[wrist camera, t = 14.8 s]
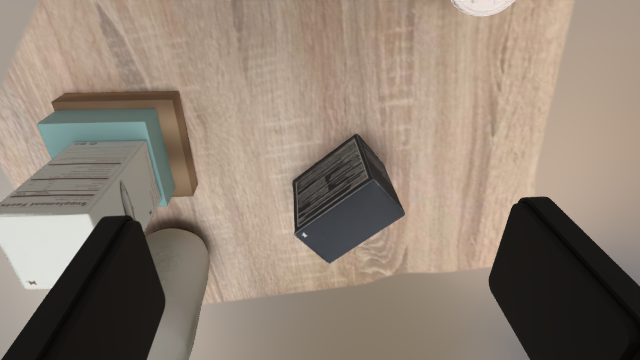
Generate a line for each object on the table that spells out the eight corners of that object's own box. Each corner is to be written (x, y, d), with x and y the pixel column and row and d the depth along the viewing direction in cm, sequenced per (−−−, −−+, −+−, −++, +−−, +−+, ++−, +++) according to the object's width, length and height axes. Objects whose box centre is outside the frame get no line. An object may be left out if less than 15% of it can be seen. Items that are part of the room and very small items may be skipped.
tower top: (56, 110, 38) (36, 124, 35) (156, 108, 39) (144, 121, 36) (88, 191, 44) (73, 209, 41) (175, 188, 44) (167, 206, 41)
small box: (322, 211, 51) (329, 268, 42) (290, 181, 48) (290, 234, 39) (387, 166, 48) (408, 217, 39) (356, 131, 45) (372, 177, 36)
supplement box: (164, 199, 41) (117, 289, 30) (93, 201, 40) (20, 292, 29) (149, 137, 37) (89, 214, 26) (70, 138, 36) (-23, 217, 26)
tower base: (68, 90, 41) (51, 102, 38) (180, 88, 41) (172, 99, 38) (102, 183, 47) (89, 199, 44) (199, 180, 48) (193, 196, 45)
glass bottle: (161, 274, 55) (61, 524, 31) (128, 221, 49) (-23, 474, 26) (226, 261, 54) (174, 506, 31) (200, 206, 49) (113, 451, 25)
